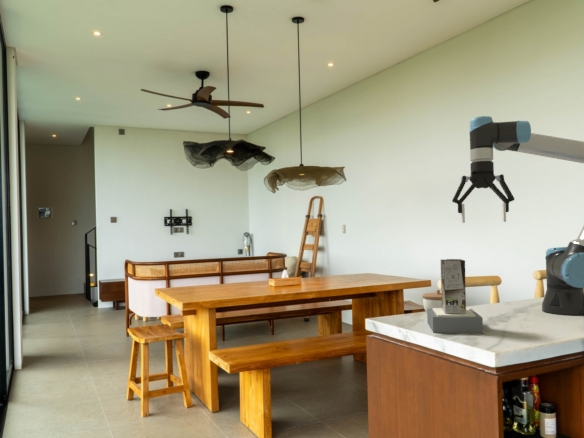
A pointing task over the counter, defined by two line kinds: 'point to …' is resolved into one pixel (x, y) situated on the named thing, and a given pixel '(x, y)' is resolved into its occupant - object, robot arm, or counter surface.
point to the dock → (454, 321)
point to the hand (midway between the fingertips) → (483, 222)
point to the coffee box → (453, 286)
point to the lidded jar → (432, 300)
